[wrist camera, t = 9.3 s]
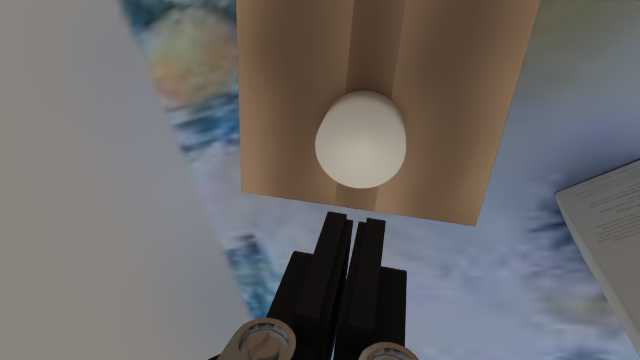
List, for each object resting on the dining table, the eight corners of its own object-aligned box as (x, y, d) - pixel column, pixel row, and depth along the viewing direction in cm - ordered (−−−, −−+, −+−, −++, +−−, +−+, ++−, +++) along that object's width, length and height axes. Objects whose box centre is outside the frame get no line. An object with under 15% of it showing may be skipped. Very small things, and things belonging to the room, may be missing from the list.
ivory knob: (410, 76, 25) (413, 110, 19) (399, 145, 27) (398, 194, 21) (336, 68, 25) (317, 99, 19) (331, 136, 27) (312, 182, 22)
